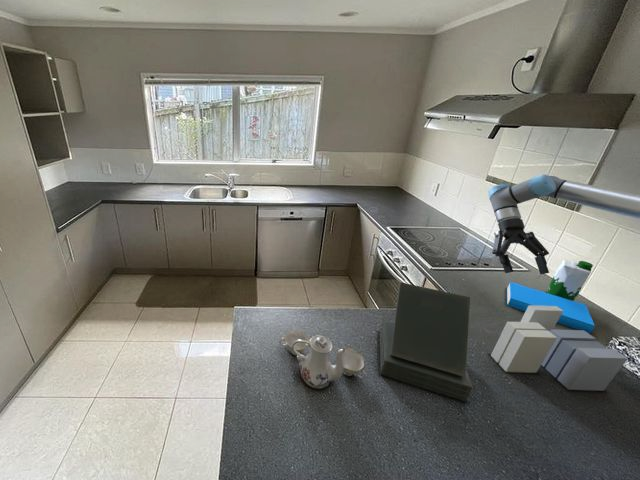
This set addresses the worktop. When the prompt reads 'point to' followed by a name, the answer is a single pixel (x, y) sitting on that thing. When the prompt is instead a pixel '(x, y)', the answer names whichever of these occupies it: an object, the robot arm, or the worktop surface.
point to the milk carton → (569, 279)
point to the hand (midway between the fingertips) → (527, 273)
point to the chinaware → (322, 359)
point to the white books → (523, 347)
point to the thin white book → (543, 315)
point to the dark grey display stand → (428, 341)
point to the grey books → (582, 361)
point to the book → (572, 311)
